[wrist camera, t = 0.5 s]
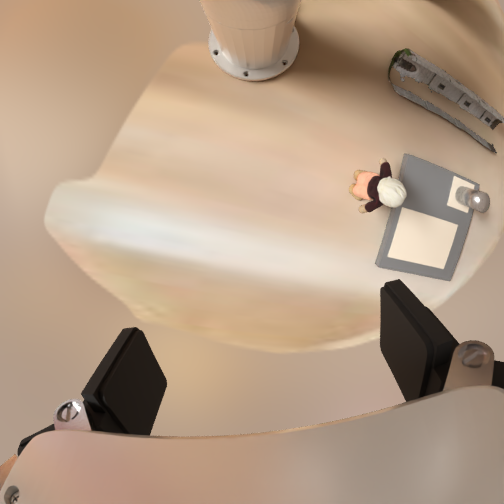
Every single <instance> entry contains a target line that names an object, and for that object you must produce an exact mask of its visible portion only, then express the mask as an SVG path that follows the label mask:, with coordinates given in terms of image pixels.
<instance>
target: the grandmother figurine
mask: <svg viewBox="0 0 504 504" xmlns="http://www.w3.org/2000/svg"><path fill="white" fill-rule="evenodd" d="M379 163H380V165H381V168H380V175H378V174H376V173H373V172H367V171H362V170H357V171H355V173H354V178H355V180H357V184H352V185H351V186H350V187H349V192H350V193H351V194H352V195H353V197H354V198H355V199H357V200H362V199H367V200H373V201H371V202H368V203H367V204H365V205H361V206H360V207H359V212H360V213H365V212H371V211H373V210H375V209H376V208H378V207H380V206H382V205H383V204H384V205H386V206H389V207H393V208H396V207H398V206H400V205H402V203H403V202H404V199H405V198H406V195H407V194H406V189H405V187H404V186H403V184H402V183H401V182H400V181H399V180H397V179H395V178H392V174H391V169H390V165H389V163H388V162H387V160H386V159H385V158H382V159H380V161H379Z"/></svg>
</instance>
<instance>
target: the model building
mask: <svg viewBox="0 0 504 504" xmlns="http://www.w3.org/2000/svg"><path fill="white" fill-rule="evenodd" d="M393 59H395V60H393ZM393 59H392V61H391V65H390V67H389V73H390V69H391V67H392V66H393V67H394V68H395V69H396V71H398V72H399V73H400V76H401V81H403V82H404V78H402V77H405V76H407V77H411V78H412V79H413V78H415V81H418V83H419V82H421V83H422V82H423V83H424V84H427V85H429V87H428V88H429V89H430V90H431V89H432V90H433V91H435V92H437V93H438V94H439V93H441V94H442V95H443V96H445V97H446V98H448V99H449V100H451V101H454V102H455V103H457V104H459V105H460V108H462V109H464V110H466V111H468V112H469V113H471V114H472V115H474V116H475V117H477V118H478V119H480V120H481V121H482V122H483V123H485V124H486V125H488V126H489V127H490V128H491V129H494V128H495V127H496V126H497V125H498V124H499V123H504V118H503V116H501V115H500V114H499V113H498V112H497V111H496V110H495V109H494V108H493V107H491V106H490V105H489V104H488V103H487V102H485V101H484V100H483V99H481V98H480V97H479V96H478V95H476V94H475V93H474V92H473V91H470V90H469V89H468V88H467V87H465V86H464V85H463V84H461V83H460V82H459V81H458V80H456V79H454V78H453V77H452V76H450V75H449V74H447V73H446V71H444V70H442V69H440V68H439V67H437V66H435V65H434V64H432V63H430V62H429V61H427V60H426V59H424V58H422V57H421V56H419V55H417V54H416V53H414V52H413V51H411V50H410V49H406V48H405V49H403V50H401V51H397V52H396V53H395V55H394V57H393ZM388 81H389V82H390V80H389V76H388ZM390 83H391V82H390ZM391 84H392V83H391ZM392 85H393V87H394V90H395V92H396V93H398V94H399V95H402V96H403V97H405V98H407V99H409V100H411V101H413V102H415V103H417V104H419V105H421V106H423V107H424V108H426V109H427V110H429V111H432V112H434V113H436V114H438V115H440V116H442V117H443V118H445V119H447V120H448V121H450V122H451V123H453V124H454V125H455V126H457V127H458V128H460V129H463V130H464V131H466V132H467V133H469V134H470V135H471V136H472V137H473V138H474V139H476V140H477V141H479V142H480V143H481V144H483V145H484V146H486V147H487V148H489V149H490V150H491V151H493V152H495V153H497V152H496V151H495V149H494V147H493V144H492V145H491V144H489V143H488V142H486V140H484V139H483V138H481V137H480V136H479V135H478V134H477V135H476V133H475V132H473V131H472V130H470V129H469V128H467V127H466V126H465V125H464V124H462V123H461V122H460V120H459V121H458V120H457V119H456V118H455V119H453V118H452V117H451V116H449V115H448V114H447V113H445V112H444V111H442V110H441V109H439V108H437V107H435V106H434V105H433V104H432V103H429V102H428V101H424V100H422V99H421V98H419V97H418V96H416V95H414V94H412V93H411V92H410V91H406V90H404V89H402V88H400V87H398V86H396V85H394V84H392ZM431 92H432V91H431Z"/></svg>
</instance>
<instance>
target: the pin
mask: <svg viewBox="0 0 504 504" xmlns="http://www.w3.org/2000/svg"><path fill="white" fill-rule="evenodd" d="M455 197H456V200H457V202H458V203H459V204H462V205H464V206H467V207H469V208H472V209H475V210H477V211H479V212H482V213H484V212H486V211H487V210H488V208H489V206H490V198H489V196H488V194H487V193H484V192H481V191H478V190H474V189H471V188H468V187H464V186H460V187H459V188H458V189H457V190H456V194H455Z"/></svg>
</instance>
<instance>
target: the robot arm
mask: <svg viewBox="0 0 504 504" xmlns="http://www.w3.org/2000/svg"><path fill="white" fill-rule="evenodd" d="M199 1H200V3H201V5H202V8H203V10H204V12H205V15H206V17H207V19H208V21H209V23H210V26H211V28H212V30H211V33H210V36H209V42H208V44H209V51H210V54H211V57H212V58H213V60H214V62H215V63H216V64H217V66H218V67H219V68H220V69H221V70H222V71H224V72H225V73H227V74H228V75H230V76H232V77H235V78H238V79H241V80H246V81H261V80H267V79H270V78H273V77H275V76H277V75H279V74H281V73H283V72H284V71H285V70H287V69H288V68H289V67H290V66H291V64H292V63H293V62H294V60H295V58H296V56H297V53H298V50H299V36H298V32H297V30H296V28H295V26H294V23H295V19H296V16H297V12H298V9H299V6H300V2H301V0H199ZM216 53H218V55H215V54H216ZM283 63H286V65H283ZM245 74H248V76H247V77H246V76H245ZM380 297H381V328H380V347H381V351H382V354H383V356H384V357H385V360H386V361H387V363H388V365H389V367H390V369H391V371H392V373H393V375H394V377H395V379H396V381H397V383H398V386H399V388H400V390H401V392H402V394H403V396H404V398H405V400H406V402H405V403H402V404H398V405H395V406H392V407H388V408H385V409H381V410H378V411H374V412H370V413H366V414H362V415H358V416H354V417H350V418H345V419H341V420H336V421H332V422H327V423H322V424H317V425H311V426H305V427H299V428H293V429H285V430H279V431H270V432H262V433H251V434H240V435H224V436H195V437H177V436H150V433H151V430H152V427H153V424H154V421H155V419H156V416H157V413H158V410H159V407H160V404H161V401H162V398H163V396H164V392H165V390H166V387H167V380H166V378H165V376H164V374H163V372H162V370H161V368H160V366H159V364H158V362H157V360H156V358H155V356H154V355H153V352H152V350H151V348H150V346H149V344H148V341H147V339H146V337H145V335H144V333H143V332H142V331H141V330H139V329H138V328H136V327H134V328H125V329H123V330H122V331H121V333H120V334H119V336H118V337H117V339H116V340H115V342H114V343H113V345H112V346H111V348H110V349H109V351H108V352H107V354H106V355H105V357H104V358H103V360H102V361H101V363H100V364H99V366H98V367H97V369H96V371H95V372H94V374H93V375H92V377H91V378H90V380H89V382H88V383H87V385H86V387H85V388H84V390H83V391H82V393H81V395H82V396H83V398H84V399H85V400H84V401H83V402H82V401H80V400H79V399H70V400H67V401H65V402H63V403H62V404H60V405H59V406H58V407H57V409H56V410H55V412H54V417H53V419H54V424H52V425H50V426H49V427H47V428H45V429H43V430H41V431H39V432H37V433H35V434H33V435H31V436H29V437H27V438H25V439H23V440H22V441H21V443H20V445H19V448H18V456H16V455H15V454H14V455H13V456H12V457H11V458H10V459H8V460H7V461H6V462H5V463H4V464H2V465H1V466H0V504H504V362H500V361H495V360H494V353H493V351H492V349H491V348H490V347H489V346H488V345H487V344H485V343H483V342H480V341H471V340H470V341H466V342H463V343H461V344H459V343H458V342H457V340H456V339H455V338H454V337H453V336H452V335H451V333H450V332H449V331H448V330H447V329H446V328H445V326H444V325H443V324H442V323H441V322H440V321H439V319H438V318H437V317H436V316H435V315H434V314H433V313H432V312H431V310H430V309H429V308H427V307H425V306H424V305H423V304H422V303H421V302H420V301H419V299H418V298H417V297H416V296H415V295H414V294H413V293H412V292H411V291H410V290H409V289H408V287H407V286H406V285H405V284H404V283H403V282H402V281H401V280H400V279H398V280H394V281H390V282H386V283H385V285H384V287H382V288H381V290H380Z"/></svg>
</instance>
